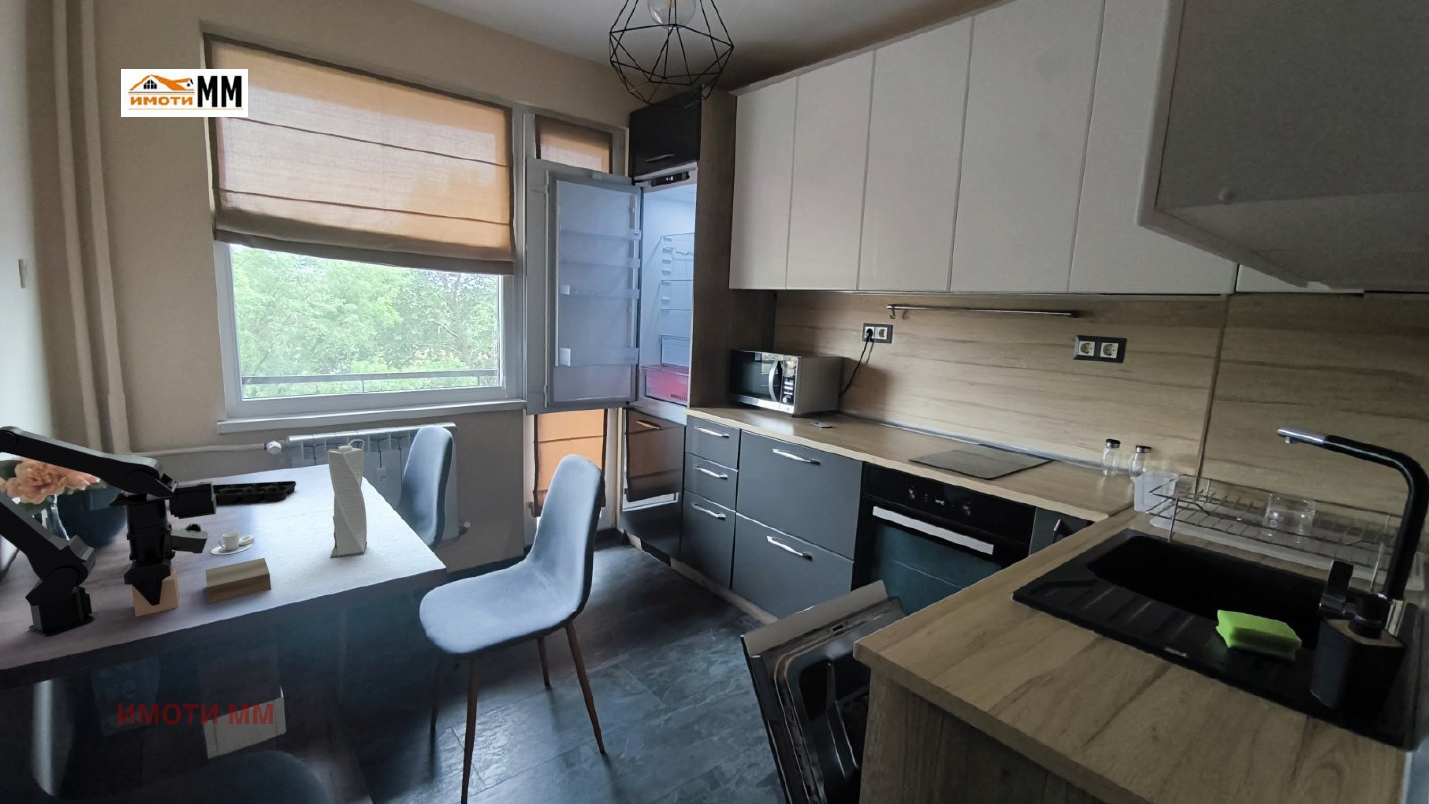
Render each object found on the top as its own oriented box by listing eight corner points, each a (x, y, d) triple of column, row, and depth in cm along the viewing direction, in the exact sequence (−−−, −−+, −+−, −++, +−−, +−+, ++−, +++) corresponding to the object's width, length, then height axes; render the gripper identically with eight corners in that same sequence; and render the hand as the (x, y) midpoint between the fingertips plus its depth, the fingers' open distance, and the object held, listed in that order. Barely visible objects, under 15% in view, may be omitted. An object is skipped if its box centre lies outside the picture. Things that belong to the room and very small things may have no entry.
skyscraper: (373, 542, 150) (366, 435, 146) (370, 554, 143) (363, 442, 138) (334, 547, 146) (326, 437, 142) (329, 559, 139) (320, 445, 135)
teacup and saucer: (251, 540, 150) (250, 524, 150) (260, 548, 145) (259, 533, 145) (207, 550, 144) (205, 534, 143) (215, 559, 139) (213, 543, 138)
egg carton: (180, 498, 180) (179, 486, 179) (299, 486, 194) (298, 475, 194) (162, 516, 165) (160, 503, 164) (292, 501, 179) (291, 490, 179)
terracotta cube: (177, 607, 116) (174, 579, 115) (135, 617, 112) (131, 587, 112) (179, 595, 121) (176, 568, 120) (139, 604, 117) (135, 576, 116)
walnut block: (271, 591, 125) (269, 573, 124) (209, 605, 118) (207, 587, 117) (265, 574, 132) (264, 557, 131) (207, 587, 125) (205, 569, 124)
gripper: (201, 529, 112) (209, 605, 114) (204, 502, 126) (211, 571, 129) (118, 542, 105) (129, 623, 107) (131, 512, 119) (141, 585, 122)
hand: (157, 598), depth 116 cm, fingers open, 6 cm apart
